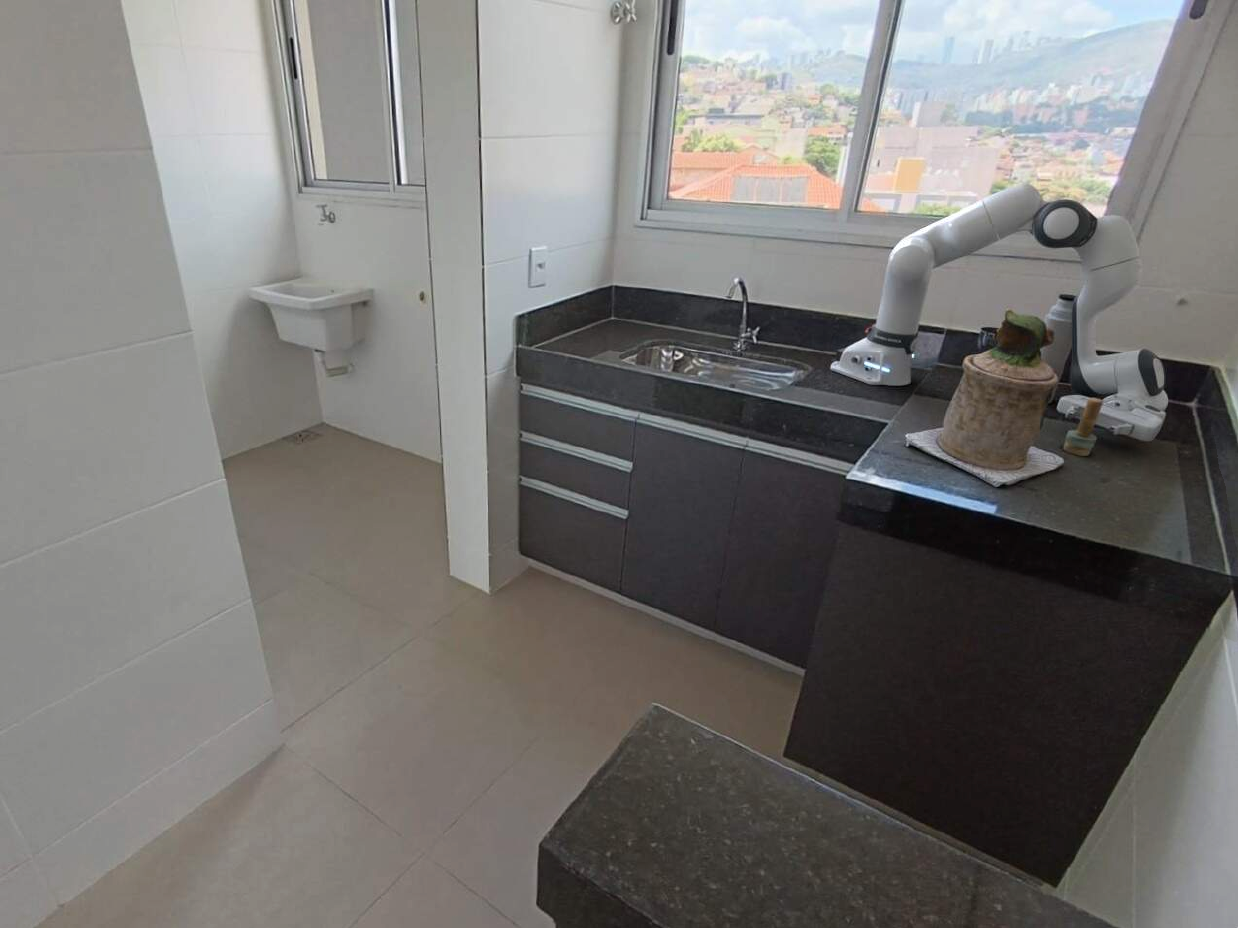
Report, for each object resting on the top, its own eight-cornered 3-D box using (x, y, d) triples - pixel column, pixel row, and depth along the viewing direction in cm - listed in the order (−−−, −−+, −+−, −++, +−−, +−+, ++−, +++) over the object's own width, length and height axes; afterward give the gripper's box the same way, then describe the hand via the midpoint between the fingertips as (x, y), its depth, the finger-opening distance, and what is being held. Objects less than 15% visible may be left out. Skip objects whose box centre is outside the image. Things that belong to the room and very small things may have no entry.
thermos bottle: (1045, 394, 188) (1081, 293, 175) (1056, 405, 181) (1094, 300, 168) (1015, 391, 189) (1048, 291, 176) (1024, 401, 182) (1059, 297, 169)
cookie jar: (1002, 491, 135) (1057, 335, 120) (898, 444, 153) (935, 303, 138) (1066, 466, 147) (1123, 321, 132) (963, 425, 165) (1003, 293, 151)
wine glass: (959, 378, 197) (974, 328, 190) (979, 376, 200) (994, 326, 193) (982, 387, 191) (998, 336, 184) (1002, 385, 194) (1018, 334, 187)
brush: (1059, 450, 154) (1078, 399, 149) (1065, 443, 158) (1084, 393, 152) (1087, 458, 151) (1108, 406, 145) (1093, 451, 154) (1113, 400, 149)
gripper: (1079, 385, 165) (1049, 394, 159) (1174, 415, 150) (1145, 426, 143) (1070, 409, 168) (1040, 418, 161) (1162, 441, 153) (1133, 452, 146)
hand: (1090, 422), depth 152 cm, fingers open, 8 cm apart
